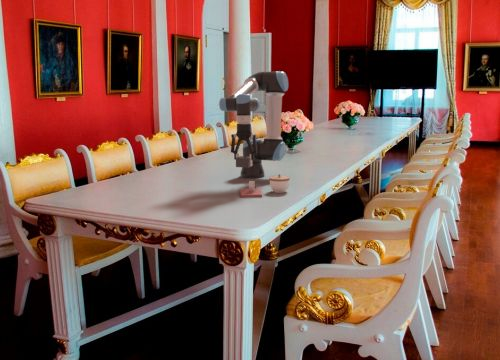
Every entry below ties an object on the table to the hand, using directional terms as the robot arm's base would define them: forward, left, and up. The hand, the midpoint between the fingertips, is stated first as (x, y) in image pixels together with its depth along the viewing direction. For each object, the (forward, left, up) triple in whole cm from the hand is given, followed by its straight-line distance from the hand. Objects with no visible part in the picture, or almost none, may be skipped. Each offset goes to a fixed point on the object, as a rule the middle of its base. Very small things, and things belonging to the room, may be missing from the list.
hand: (244, 165), depth 286 cm
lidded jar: (+6, +19, -14) cm, 24 cm away
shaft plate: (+11, +3, -13) cm, 18 cm away
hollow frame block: (0, 0, 0) cm, 0 cm away
